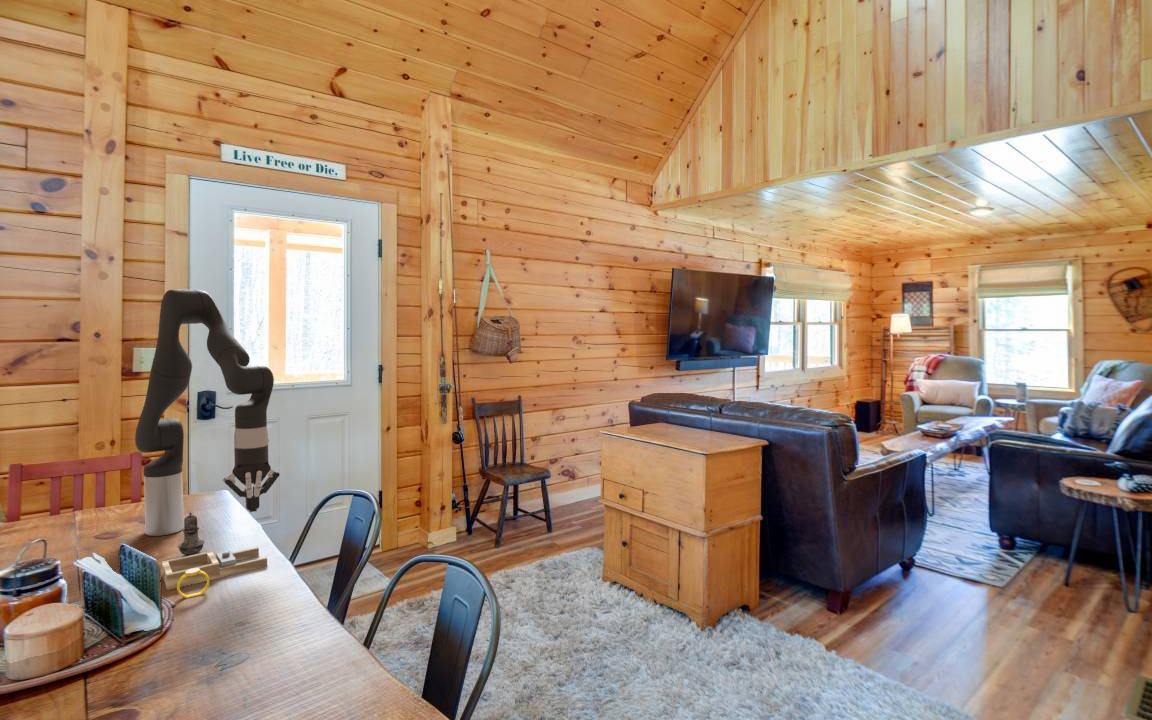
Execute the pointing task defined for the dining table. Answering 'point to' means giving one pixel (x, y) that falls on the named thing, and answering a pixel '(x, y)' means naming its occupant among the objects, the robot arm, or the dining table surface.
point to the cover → (226, 559)
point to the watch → (191, 573)
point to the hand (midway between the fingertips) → (252, 510)
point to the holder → (207, 567)
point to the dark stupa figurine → (191, 537)
